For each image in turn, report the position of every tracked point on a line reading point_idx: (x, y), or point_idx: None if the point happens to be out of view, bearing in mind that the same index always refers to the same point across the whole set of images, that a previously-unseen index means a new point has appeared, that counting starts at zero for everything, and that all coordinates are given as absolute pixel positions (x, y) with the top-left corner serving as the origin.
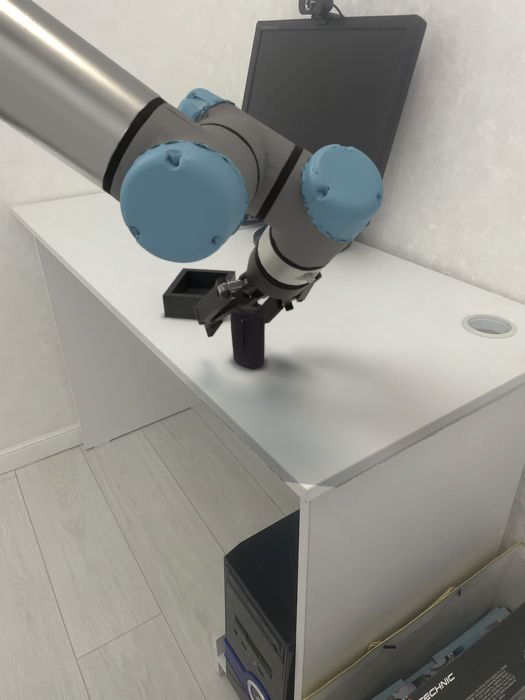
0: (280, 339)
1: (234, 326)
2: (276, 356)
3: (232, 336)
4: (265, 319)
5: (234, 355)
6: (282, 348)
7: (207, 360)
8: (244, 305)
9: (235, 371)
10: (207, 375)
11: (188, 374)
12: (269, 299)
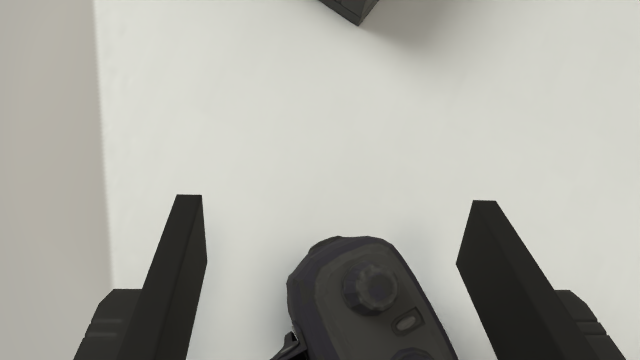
0: None
1: (292, 315)
2: None
3: (287, 292)
4: (464, 269)
5: (287, 302)
6: None
7: (210, 239)
8: (357, 348)
9: (267, 351)
10: None
11: None
12: (529, 315)
